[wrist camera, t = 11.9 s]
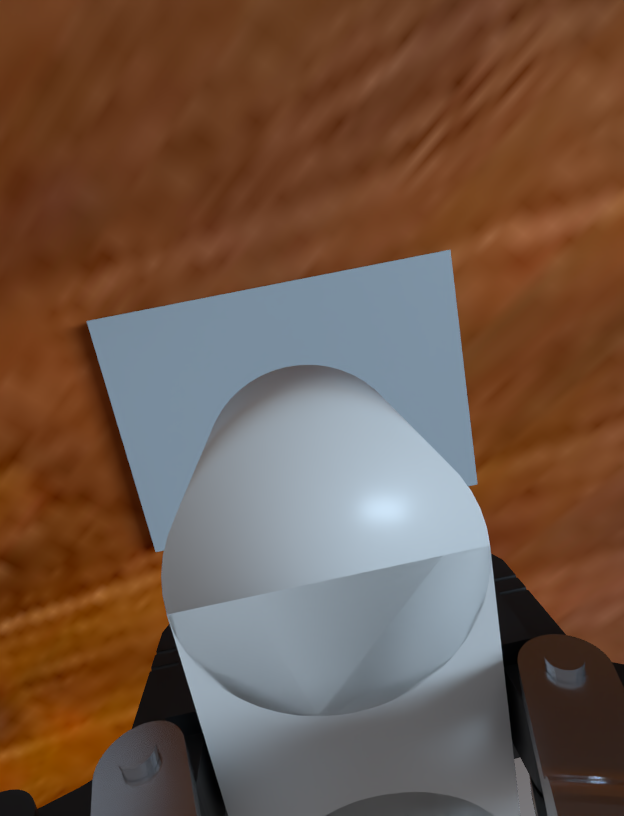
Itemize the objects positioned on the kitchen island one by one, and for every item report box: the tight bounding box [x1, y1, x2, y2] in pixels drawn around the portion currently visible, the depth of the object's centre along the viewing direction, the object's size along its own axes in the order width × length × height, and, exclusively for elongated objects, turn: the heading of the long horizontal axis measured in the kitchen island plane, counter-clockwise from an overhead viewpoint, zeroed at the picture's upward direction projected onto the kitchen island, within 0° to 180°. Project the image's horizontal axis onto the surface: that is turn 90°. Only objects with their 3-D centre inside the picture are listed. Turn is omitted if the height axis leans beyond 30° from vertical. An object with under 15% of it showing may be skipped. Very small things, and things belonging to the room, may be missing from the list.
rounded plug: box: [161, 365, 520, 816], centre depth 10 cm, size 4×13×4 cm, turn 11°
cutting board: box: [87, 250, 477, 552], centre depth 29 cm, size 20×14×1 cm
